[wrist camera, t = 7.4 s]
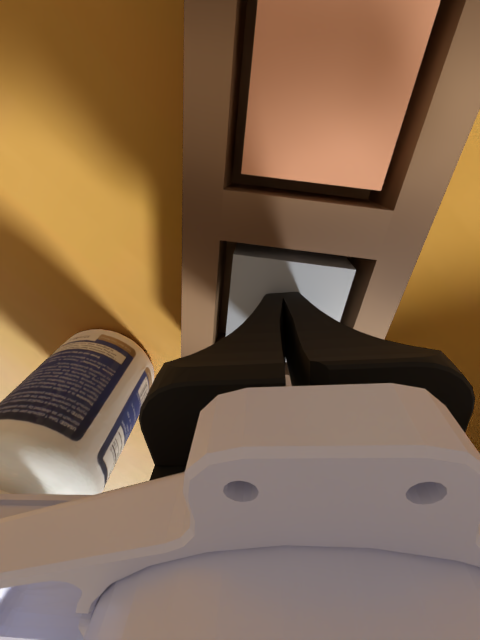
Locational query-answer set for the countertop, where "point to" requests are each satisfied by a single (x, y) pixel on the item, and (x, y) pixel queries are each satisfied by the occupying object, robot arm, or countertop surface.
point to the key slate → (286, 279)
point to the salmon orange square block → (332, 87)
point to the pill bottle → (73, 416)
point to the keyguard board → (306, 197)
